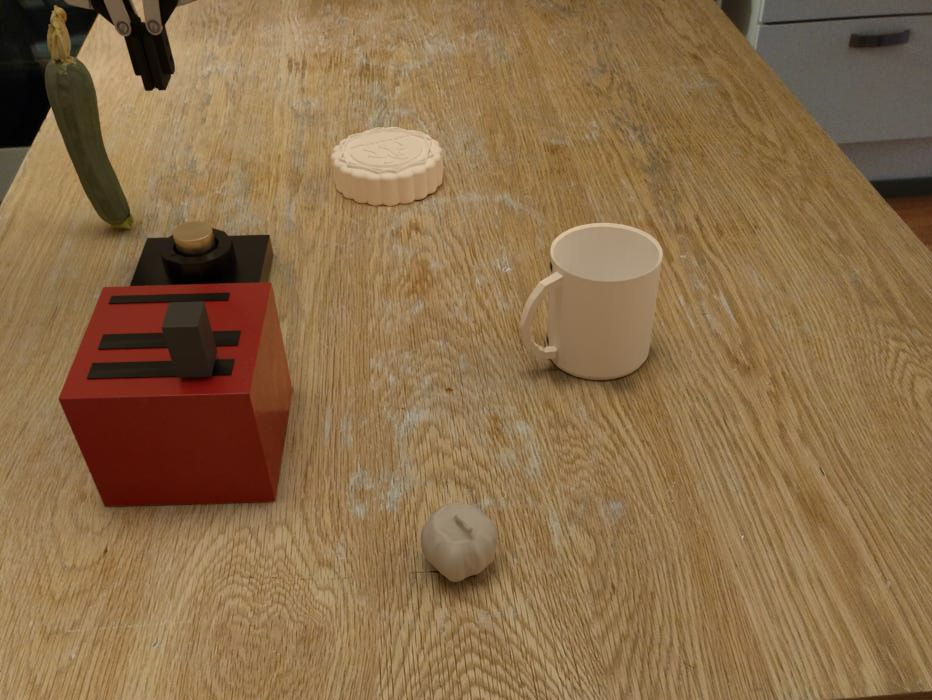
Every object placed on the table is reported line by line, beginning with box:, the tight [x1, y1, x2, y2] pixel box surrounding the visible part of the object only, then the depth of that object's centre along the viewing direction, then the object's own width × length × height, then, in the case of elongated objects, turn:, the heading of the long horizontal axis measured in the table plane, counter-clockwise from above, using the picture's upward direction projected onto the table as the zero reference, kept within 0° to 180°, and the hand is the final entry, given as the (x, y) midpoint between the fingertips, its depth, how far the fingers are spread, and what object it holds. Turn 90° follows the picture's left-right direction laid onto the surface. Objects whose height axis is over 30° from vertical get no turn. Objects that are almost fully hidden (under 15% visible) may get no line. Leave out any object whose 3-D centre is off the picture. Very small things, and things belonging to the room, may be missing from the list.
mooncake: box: [330, 126, 444, 207], centre depth 104 cm, size 12×12×4 cm
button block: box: [129, 227, 275, 286], centre depth 91 cm, size 12×10×4 cm
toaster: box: [58, 281, 294, 508], centre depth 74 cm, size 13×14×10 cm
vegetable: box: [44, 4, 135, 230], centre depth 92 cm, size 4×4×20 cm
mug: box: [519, 222, 664, 381], centre depth 81 cm, size 12×9×9 cm
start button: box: [172, 220, 216, 257], centre depth 89 cm, size 4×4×2 cm
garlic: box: [420, 501, 499, 583], centre depth 67 cm, size 6×5×5 cm
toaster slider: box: [161, 301, 217, 378], centre depth 65 cm, size 2×3×4 cm
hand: (158, 83), depth 79 cm, fingers closed
